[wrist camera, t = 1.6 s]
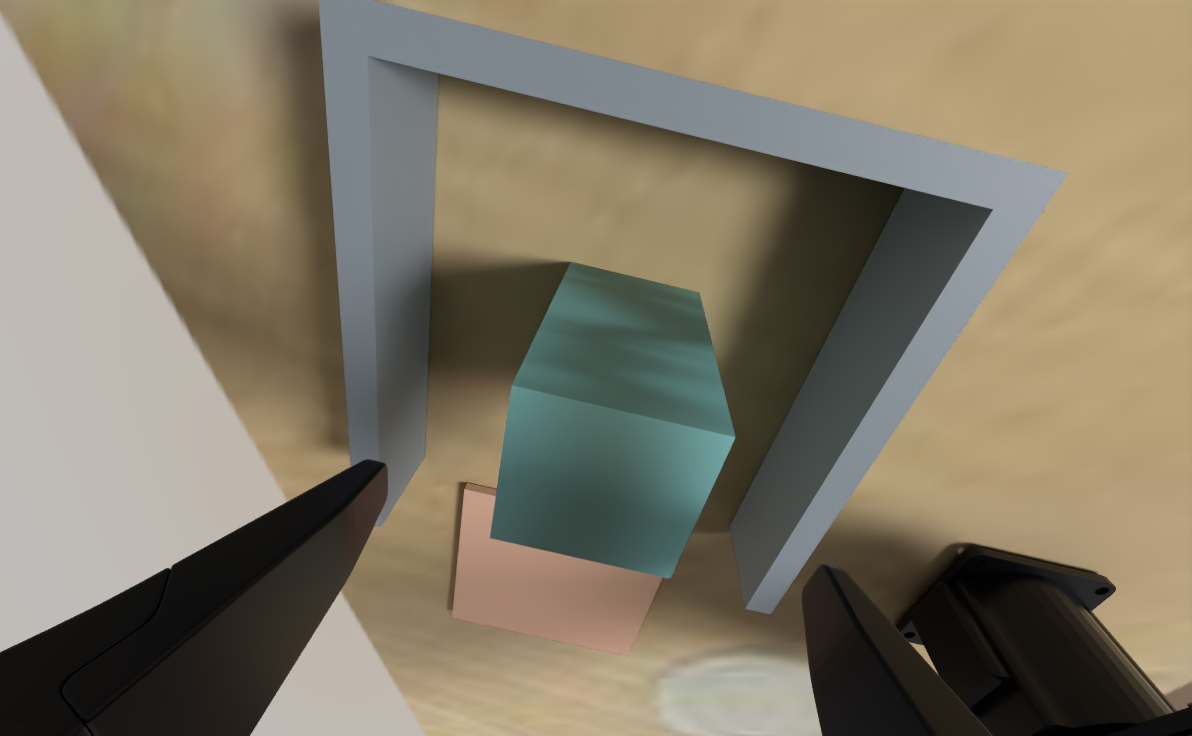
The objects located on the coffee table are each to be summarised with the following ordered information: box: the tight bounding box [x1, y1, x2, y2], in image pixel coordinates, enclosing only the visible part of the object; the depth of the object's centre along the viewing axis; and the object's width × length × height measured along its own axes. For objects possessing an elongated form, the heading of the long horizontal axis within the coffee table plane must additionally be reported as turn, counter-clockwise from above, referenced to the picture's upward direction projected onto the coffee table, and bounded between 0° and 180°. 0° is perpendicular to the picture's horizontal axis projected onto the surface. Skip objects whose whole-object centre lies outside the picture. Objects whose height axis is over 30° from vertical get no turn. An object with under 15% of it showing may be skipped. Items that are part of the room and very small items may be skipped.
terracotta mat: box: [452, 483, 663, 656], centre depth 24 cm, size 10×10×1 cm
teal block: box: [490, 262, 736, 579], centre depth 14 cm, size 4×4×8 cm
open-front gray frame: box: [319, 0, 1068, 615], centre depth 16 cm, size 16×16×4 cm
